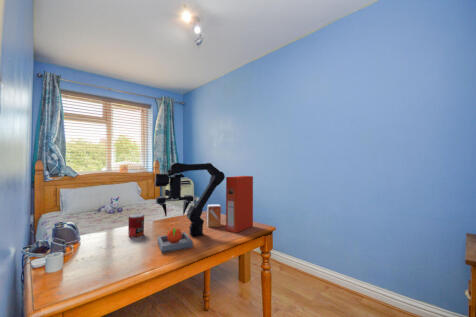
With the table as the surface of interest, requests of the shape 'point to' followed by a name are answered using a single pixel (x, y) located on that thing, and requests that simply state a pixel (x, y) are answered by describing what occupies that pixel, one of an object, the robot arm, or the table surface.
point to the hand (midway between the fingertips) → (174, 215)
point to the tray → (168, 247)
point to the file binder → (239, 203)
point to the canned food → (136, 225)
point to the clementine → (174, 235)
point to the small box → (213, 215)
